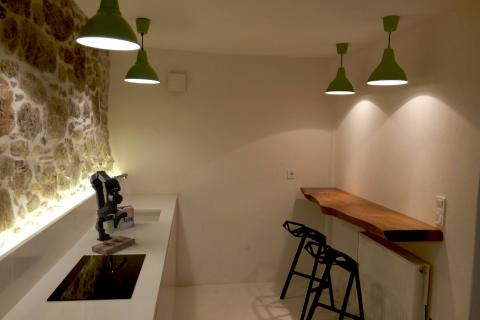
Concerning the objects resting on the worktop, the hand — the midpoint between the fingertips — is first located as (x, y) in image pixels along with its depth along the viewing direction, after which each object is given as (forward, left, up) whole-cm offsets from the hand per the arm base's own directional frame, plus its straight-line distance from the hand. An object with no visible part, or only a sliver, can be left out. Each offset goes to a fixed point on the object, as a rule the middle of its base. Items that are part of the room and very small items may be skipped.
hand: (113, 228), depth 194 cm
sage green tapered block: (0, 0, -2) cm, 2 cm away
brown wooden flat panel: (0, 0, -11) cm, 11 cm away
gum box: (-27, +24, -12) cm, 38 cm away
